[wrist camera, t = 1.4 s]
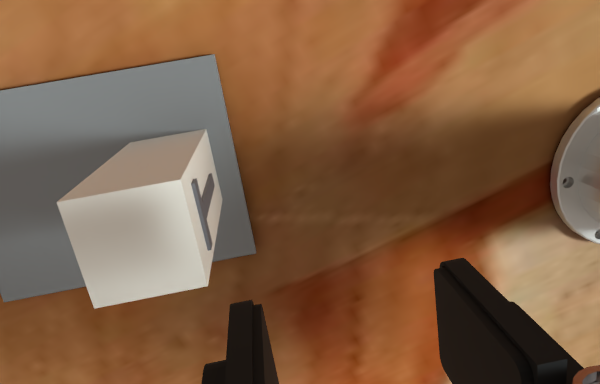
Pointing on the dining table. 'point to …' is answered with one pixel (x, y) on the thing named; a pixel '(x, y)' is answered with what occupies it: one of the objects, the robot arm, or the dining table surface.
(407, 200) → the dining table surface
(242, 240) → the mat
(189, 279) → the letter block
